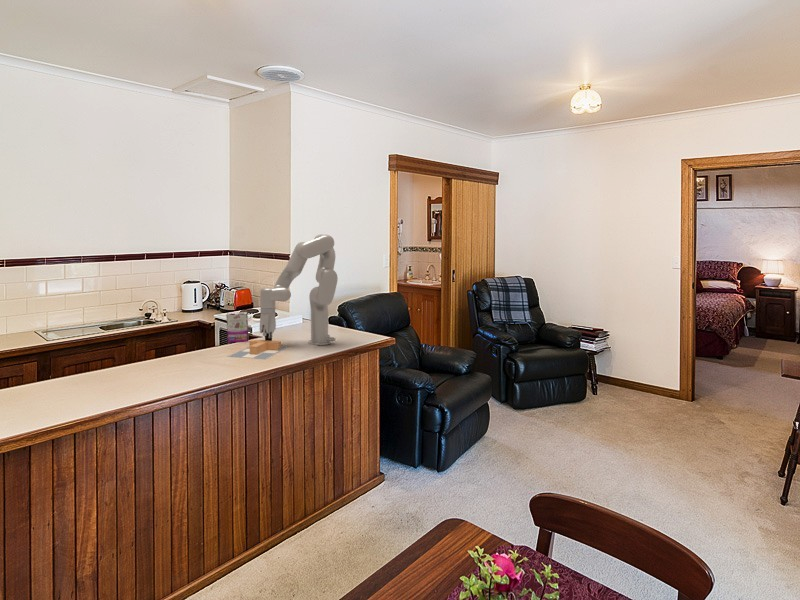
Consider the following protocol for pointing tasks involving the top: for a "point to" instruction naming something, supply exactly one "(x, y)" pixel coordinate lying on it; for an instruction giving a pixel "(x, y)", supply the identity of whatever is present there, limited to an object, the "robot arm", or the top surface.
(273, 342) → the t block
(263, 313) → the robot arm
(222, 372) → the top surface
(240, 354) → the mat
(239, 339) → the candy bar box
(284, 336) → the top surface
